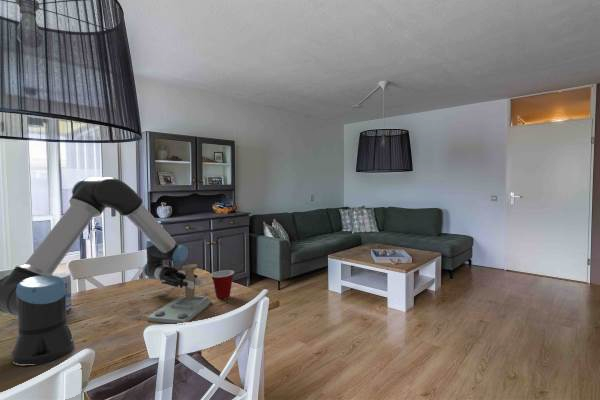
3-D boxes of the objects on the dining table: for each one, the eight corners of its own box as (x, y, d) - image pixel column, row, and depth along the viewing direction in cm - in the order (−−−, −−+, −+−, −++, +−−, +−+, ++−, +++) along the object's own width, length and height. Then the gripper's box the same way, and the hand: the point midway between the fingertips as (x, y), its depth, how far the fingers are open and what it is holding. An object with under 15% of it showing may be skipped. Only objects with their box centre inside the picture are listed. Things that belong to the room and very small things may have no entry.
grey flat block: (184, 324, 119) (184, 317, 119) (146, 320, 123) (146, 313, 122) (211, 302, 141) (211, 296, 141) (179, 300, 144) (179, 294, 144)
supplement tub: (61, 315, 127) (59, 279, 126) (36, 315, 127) (35, 279, 126) (77, 305, 137) (76, 272, 136) (54, 305, 137) (53, 272, 136)
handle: (199, 299, 137) (199, 265, 137) (186, 303, 132) (186, 268, 132) (193, 296, 140) (192, 263, 140) (180, 300, 135) (179, 266, 134)
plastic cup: (217, 292, 154) (217, 268, 153) (238, 294, 152) (237, 270, 151) (206, 301, 143) (205, 275, 143) (228, 303, 141) (228, 276, 140)
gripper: (182, 278, 153) (213, 287, 140) (149, 287, 140) (180, 298, 126) (182, 262, 153) (213, 271, 139) (149, 270, 140) (179, 280, 126)
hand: (197, 284), depth 133 cm, fingers closed on handle, 3 cm apart
